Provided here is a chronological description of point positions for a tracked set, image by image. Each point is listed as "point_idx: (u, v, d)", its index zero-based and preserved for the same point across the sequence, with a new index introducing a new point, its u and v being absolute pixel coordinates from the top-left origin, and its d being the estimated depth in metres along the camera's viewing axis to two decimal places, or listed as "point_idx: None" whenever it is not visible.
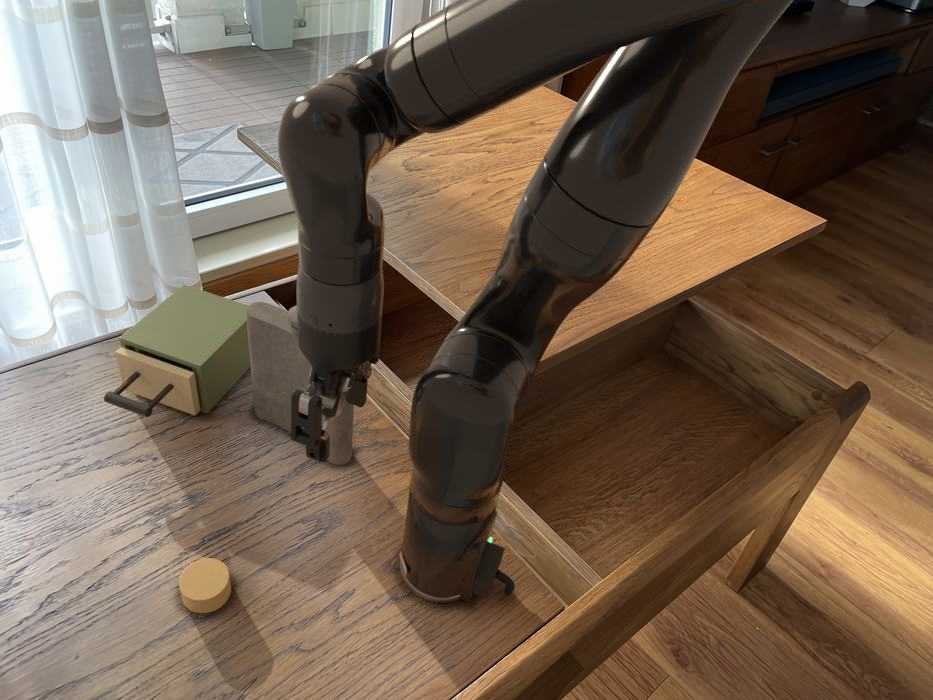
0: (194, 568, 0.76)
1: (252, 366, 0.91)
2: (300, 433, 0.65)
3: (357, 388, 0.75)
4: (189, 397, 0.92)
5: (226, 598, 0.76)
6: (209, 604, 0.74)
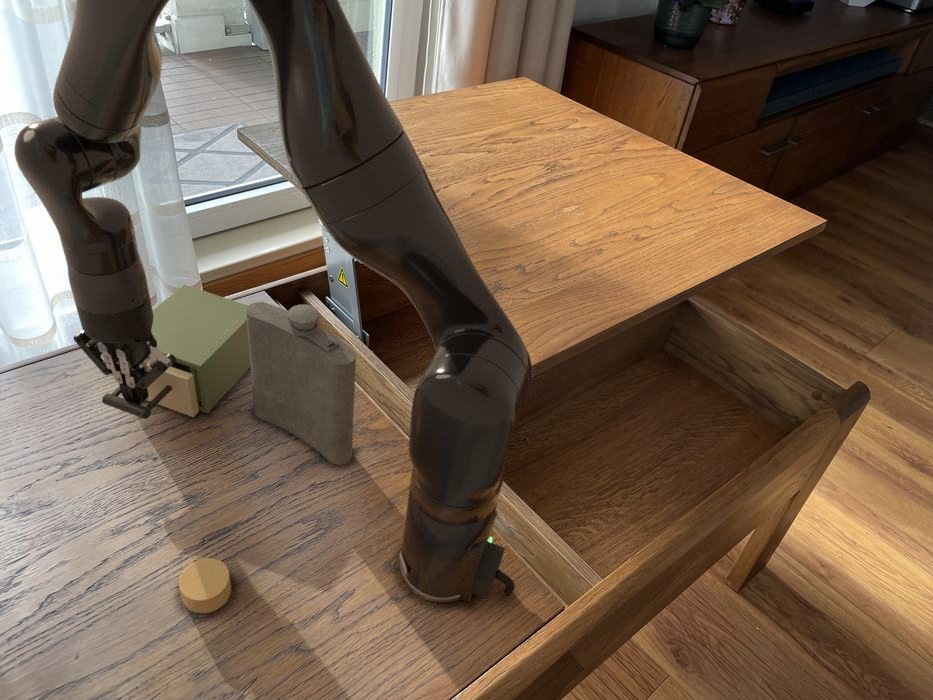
0: (194, 568, 0.76)
1: (252, 366, 0.91)
2: None
3: None
4: (187, 399, 0.92)
5: (226, 598, 0.76)
6: (209, 604, 0.74)
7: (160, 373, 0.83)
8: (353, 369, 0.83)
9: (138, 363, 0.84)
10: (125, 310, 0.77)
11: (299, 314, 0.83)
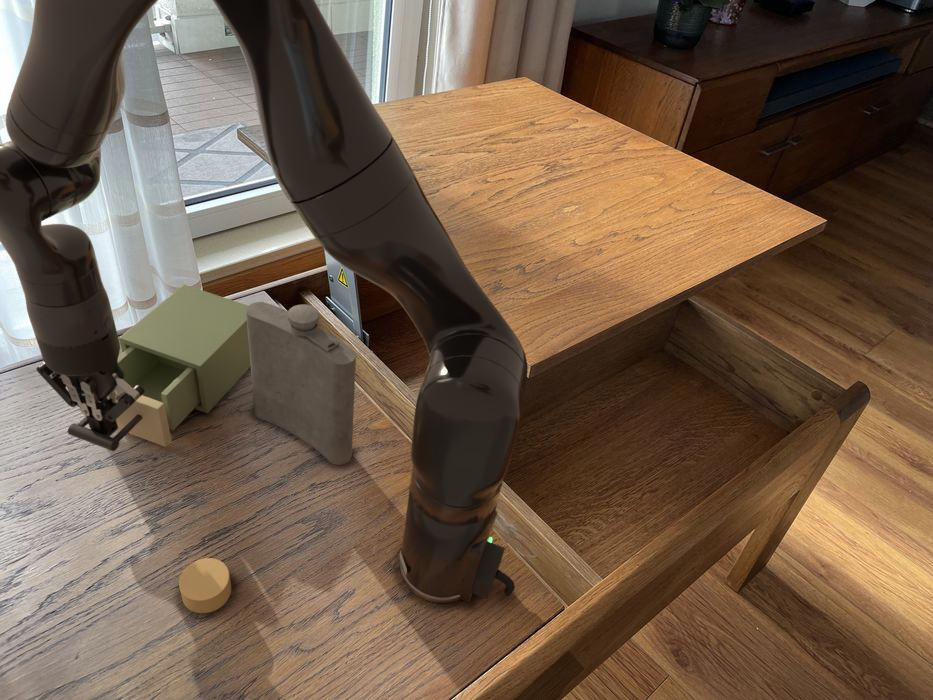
0: (194, 568, 0.76)
1: (252, 366, 0.91)
2: None
3: None
4: (159, 428, 0.87)
5: (226, 598, 0.76)
6: (209, 604, 0.74)
7: (127, 406, 0.79)
8: (353, 369, 0.83)
9: (104, 395, 0.80)
10: (88, 342, 0.73)
11: (299, 314, 0.83)
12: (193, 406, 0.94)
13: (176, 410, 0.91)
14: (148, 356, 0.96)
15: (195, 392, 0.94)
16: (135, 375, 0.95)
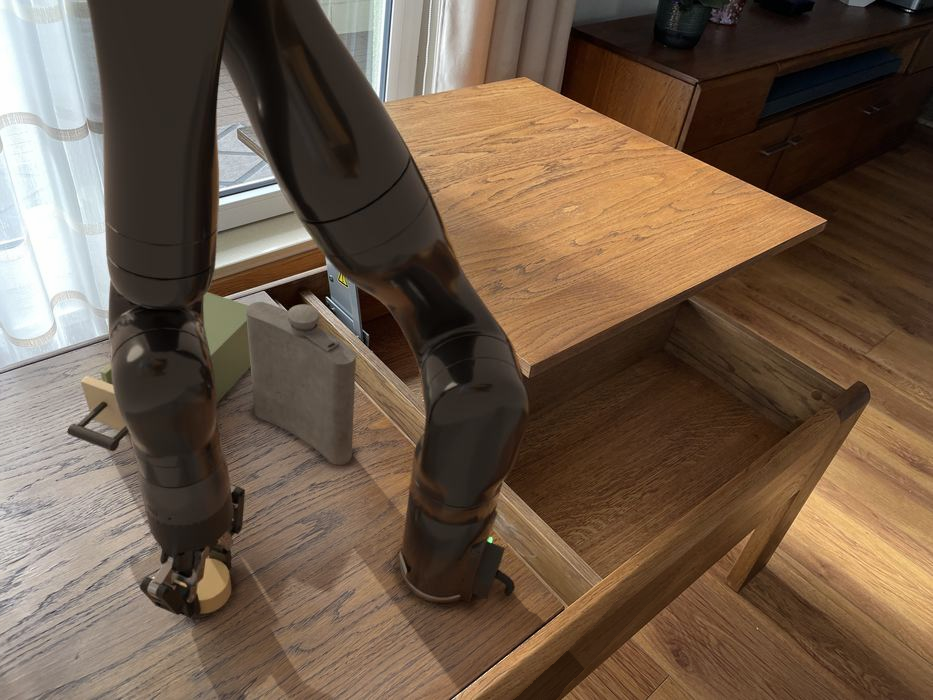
0: None
1: (252, 366, 0.91)
2: None
3: (219, 558, 0.76)
4: None
5: (226, 598, 0.76)
6: (209, 604, 0.74)
7: (243, 494, 0.75)
8: (353, 369, 0.83)
9: None
10: None
11: (299, 314, 0.83)
12: None
13: None
14: None
15: None
16: None
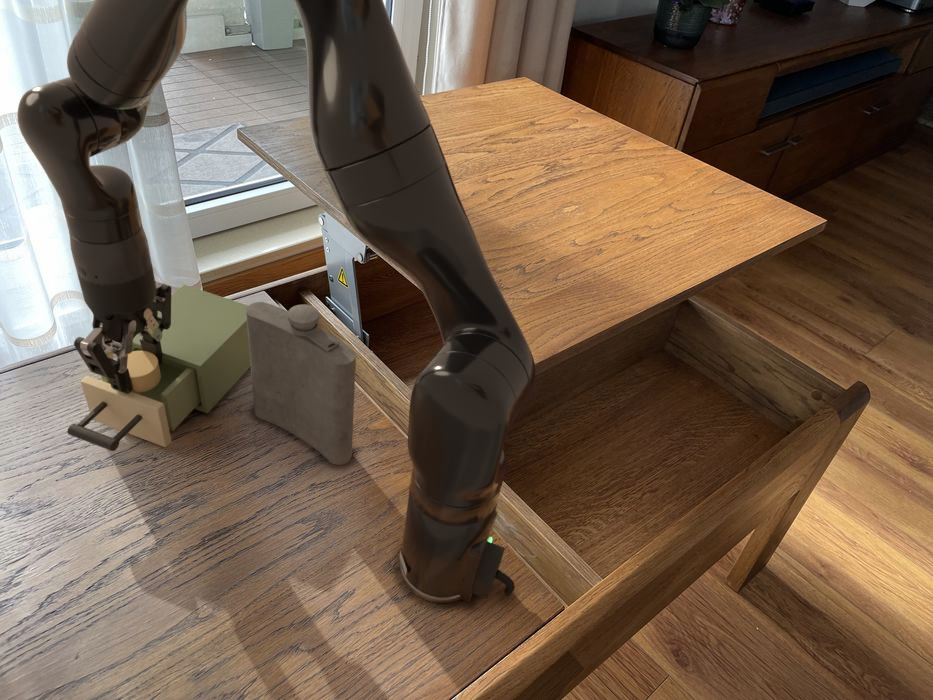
0: (128, 356, 0.88)
1: (252, 366, 0.91)
2: (97, 366, 0.81)
3: (150, 349, 0.89)
4: (158, 428, 0.87)
5: (155, 382, 0.88)
6: (139, 383, 0.87)
7: (170, 291, 0.88)
8: (353, 369, 0.83)
9: None
10: None
11: (299, 314, 0.83)
12: (193, 406, 0.94)
13: (176, 410, 0.91)
14: None
15: (195, 392, 0.94)
16: None
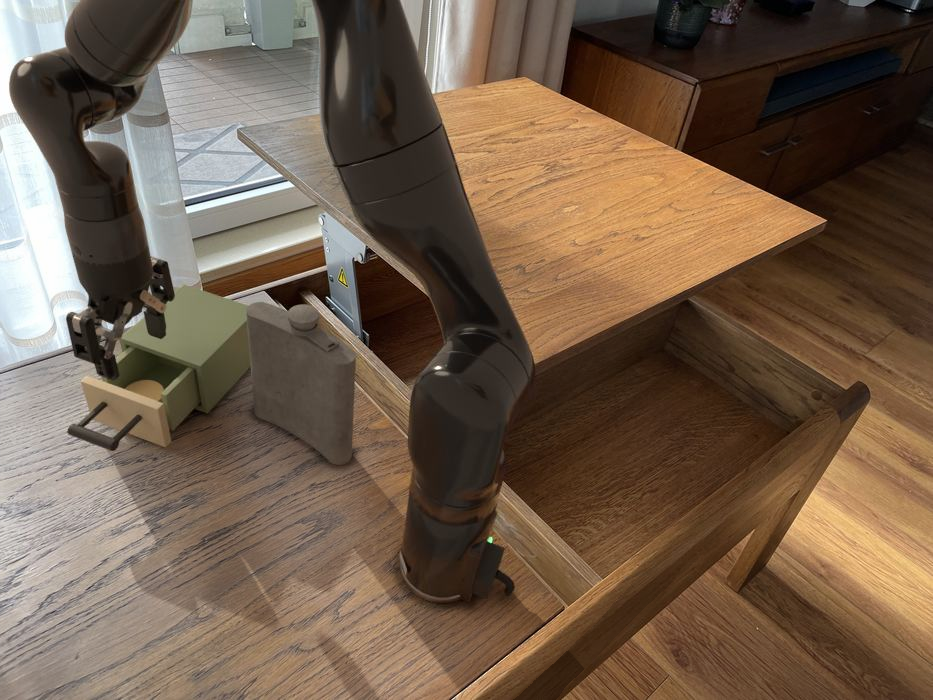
0: (135, 386, 0.92)
1: (252, 366, 0.91)
2: (81, 351, 0.78)
3: (154, 321, 0.88)
4: (158, 428, 0.87)
5: None
6: None
7: (167, 266, 0.85)
8: (353, 369, 0.83)
9: None
10: None
11: (299, 314, 0.83)
12: (193, 406, 0.94)
13: (176, 410, 0.91)
14: (148, 356, 0.96)
15: (195, 392, 0.94)
16: (135, 375, 0.95)
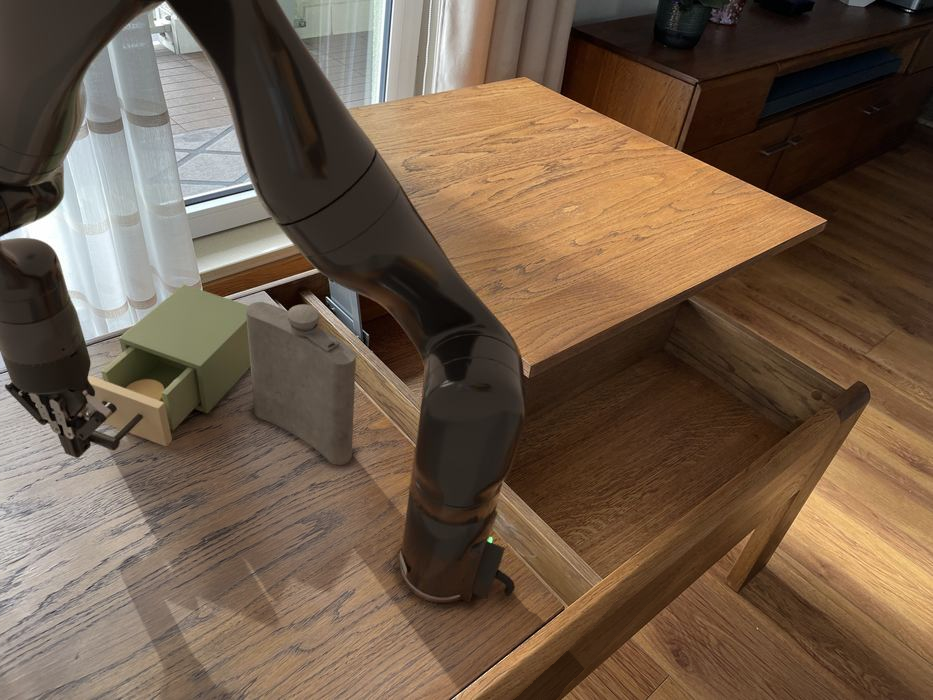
0: (136, 385, 0.92)
1: (252, 366, 0.91)
2: None
3: None
4: (159, 428, 0.88)
5: None
6: None
7: (98, 424, 0.76)
8: (353, 369, 0.83)
9: (75, 413, 0.77)
10: (55, 360, 0.71)
11: (299, 314, 0.83)
12: (194, 405, 0.94)
13: (177, 409, 0.91)
14: (148, 356, 0.96)
15: (195, 392, 0.94)
16: (136, 374, 0.95)
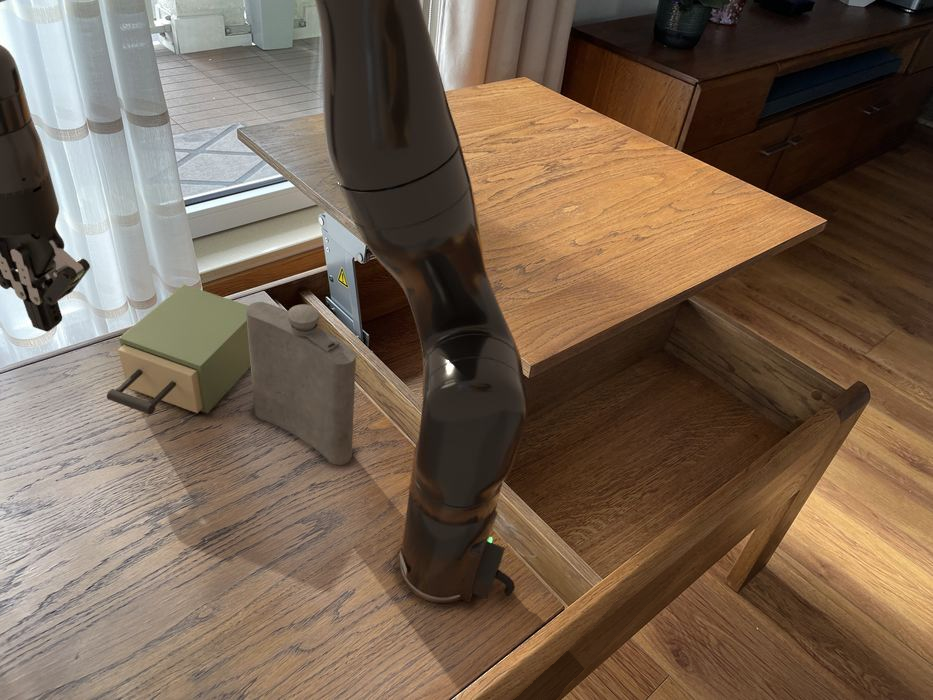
0: None
1: (252, 366, 0.91)
2: None
3: None
4: (191, 395, 0.92)
5: None
6: None
7: (68, 281, 0.66)
8: (353, 369, 0.83)
9: (41, 269, 0.67)
10: (14, 191, 0.60)
11: (299, 314, 0.83)
12: None
13: None
14: None
15: None
16: None
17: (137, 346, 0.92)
